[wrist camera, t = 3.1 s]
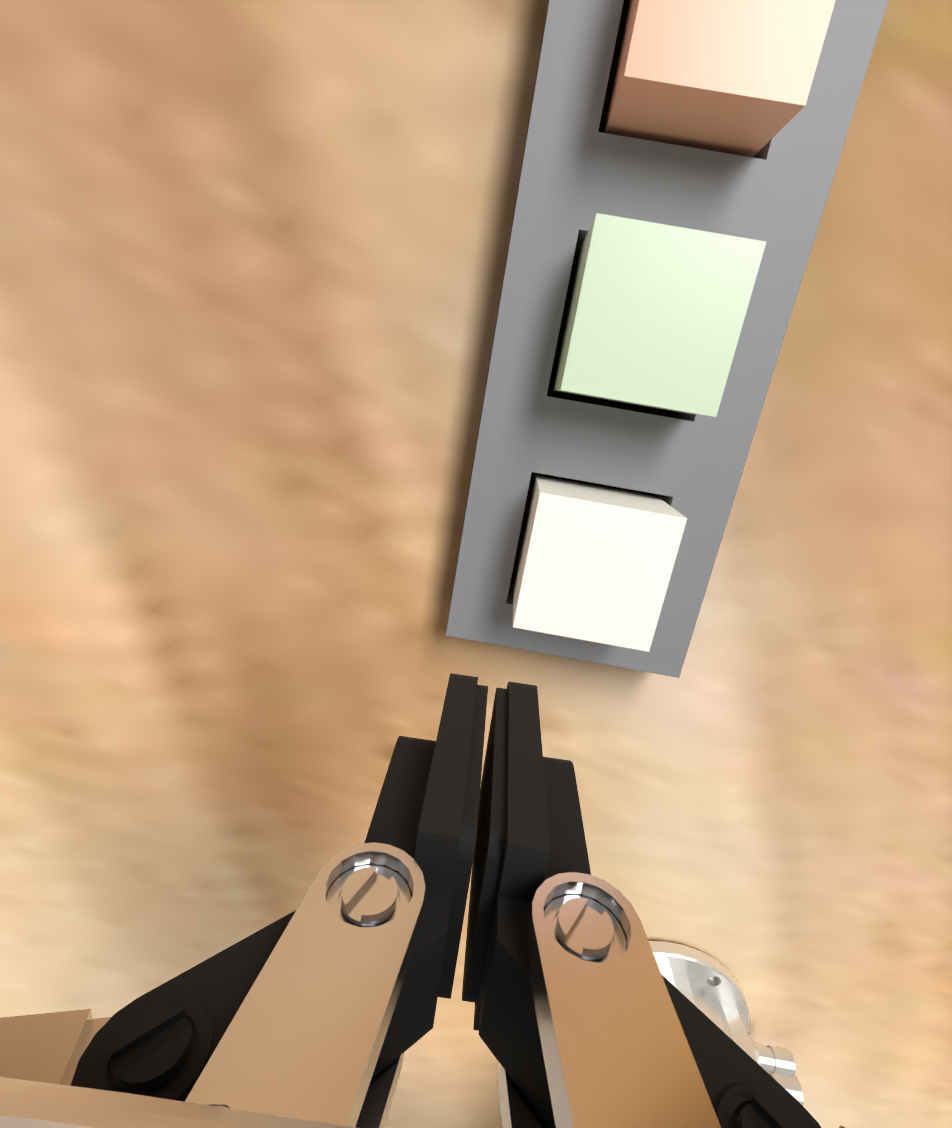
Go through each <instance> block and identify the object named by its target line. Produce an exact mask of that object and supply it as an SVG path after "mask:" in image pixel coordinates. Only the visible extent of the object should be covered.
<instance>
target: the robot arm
mask: <svg viewBox="0 0 952 1128" xmlns="http://www.w3.org/2000/svg"><path fill="white" fill-rule="evenodd" d="M477 681H478V677H472V676H465V675H458V674H450V677H449V682H448V687H447V692H446V697H445V701H444V706H443V711H442V716H441V721H440V726H439V730H438V735H437V740H436V741H431V740H424V739H417V738H410V737H403V736H399V737H398V740H397V742H396V745H395V748H394V752H393V755H392V758H391V761H390V764H389V767H388V771H387V774H386V777H385V780H384V783H383V786H382V790H381V793H380V796H379V799H378V802H377V805H376V809H375V812H374V815H373V818H372V821H371V824H370V828H369V831H368V834H367V837H366V840H365V843H363V844H357V845H354V846H351V847H349V848H346V849H343V850H341V851H340V852H338V853H337V854H336V855H334V856H333V857H331V858H330V859H329V860H328V861H327V862H326V863H325V865H324V866H323V867H322V868H321V870H320V871H319V872H318V874H317V876H316V877H315V879H314V881H313V883H312V884H311V886H310V888H309V889H308V891H307V893H306V895H305V896H304V898H303V900H302V901H301V903H300V905H299V907H298V908H297V910H295V911H294V912H292V913H290V914H288V915H286V916H285V917H283V918H281V919H279V920H277V921H276V922H274V923H272V924H270V925H268V926H267V927H265V928H263V929H261V930H259V931H258V932H256V933H254V934H252V935H250V936H249V937H247V938H245V939H243V940H241V941H240V942H238V943H236V944H234V945H232V946H231V947H229V948H227V949H225V950H223V951H222V952H220V953H218V954H216V955H214V956H213V957H211V958H209V959H207V960H205V961H204V962H202V963H200V964H198V965H196V966H195V967H193V968H191V969H189V970H187V971H186V972H184V973H182V974H180V975H178V976H177V977H175V978H173V979H171V980H169V981H168V982H166V983H164V984H162V985H160V986H159V987H157V988H155V989H153V990H151V991H150V992H148V993H146V994H144V995H142V996H141V997H139V998H137V999H136V1000H134V1001H133V1002H131V1003H130V1004H128V1005H127V1006H126V1007H124V1008H123V1009H121V1010H120V1011H118V1012H117V1013H116V1014H114V1015H113V1016H112V1017H109V1018H99V1019H92V1015H91V1009H87V1010H77V1011H67V1012H56V1013H46V1014H36V1015H26V1016H15V1017H5V1018H0V1128H384V1126H385V1123H386V1119H387V1116H388V1113H389V1109H390V1106H391V1102H392V1099H393V1096H394V1092H395V1089H396V1085H397V1082H398V1079H399V1075H400V1072H401V1068H402V1063H403V1056H404V1052H405V1051H406V1050H407V1049H408V1048H409V1047H411V1046H412V1045H413V1044H414V1043H415V1042H417V1041H418V1040H419V1039H420V1038H421V1037H422V1036H424V1035H425V1034H426V1033H427V1032H428V1031H430V1030H431V1029H432V1028H433V1023H434V1017H435V1010H436V1003H437V997H443V998H449V999H450V998H451V993H452V987H453V981H454V974H455V968H456V962H457V956H458V950H459V943H460V937H461V931H462V925H463V919H464V913H465V906H466V900H467V894H468V888H469V882H470V875H471V869H472V877H471V890H470V902H469V915H468V927H467V940H466V952H465V965H464V977H463V990H462V1001H469V1002H475V1014H474V1030H479V1036H480V1037H481V1038H482V1040H483V1041H484V1042H485V1044H486V1045H487V1046H488V1048H489V1049H490V1051H491V1052H492V1053H493V1055H494V1056H495V1057H496V1059H497V1060H498V1081H497V1082H498V1092H499V1102H500V1111H501V1121H502V1128H821V1127H820V1125H819V1123H818V1122H817V1121H816V1120H815V1119H814V1118H813V1117H812V1116H811V1115H810V1113H809V1112H808V1111H807V1110H806V1109H805V1108H804V1107H803V1103H804V1101H803V1092H802V1089H801V1085H800V1082H799V1081H798V1079H797V1077H796V1076H795V1061H794V1058H793V1055H792V1053H791V1052H790V1051H789V1050H788V1049H784V1048H779V1047H773V1046H761V1045H756V1043H755V1041H754V1040H753V1039H752V1038H749V1036H748V1034H747V1033H748V1029H749V1010H748V1007H747V1004H746V1001H745V998H744V996H743V993H742V991H741V988H740V986H739V984H738V982H737V980H736V979H735V978H734V976H733V975H732V974H731V973H730V971H729V970H728V969H727V968H726V967H724V966H723V965H722V964H721V963H720V962H718V961H717V960H716V959H714V958H712V957H711V956H709V955H707V954H705V953H703V952H702V951H699V950H696V949H694V948H691V947H688V946H685V945H682V944H676V943H671V942H666V941H648V939H647V936H646V934H645V931H644V929H643V926H642V924H641V921H640V919H639V917H638V915H637V913H636V912H635V910H634V908H633V906H632V904H631V903H630V902H629V901H628V900H627V899H626V898H625V897H624V896H623V895H622V893H621V892H620V891H618V890H617V889H616V888H614V887H613V886H611V885H610V884H608V883H607V882H606V881H604V880H601V879H599V878H597V877H594V876H592V875H591V872H590V866H589V860H588V853H587V847H586V841H585V835H584V828H583V822H582V816H581V809H580V803H579V797H578V791H577V784H576V778H575V772H574V767H573V763H572V762H571V761H568V760H561V759H554V758H548V757H543V755H542V743H541V731H540V718H539V706H538V694H537V686H535V685H528V684H521V683H514V682H508V685H507V689H503V688H496V693H495V699H494V706H493V712H492V718H491V725H490V731H489V737H488V743H487V750H486V756H485V762H484V769H483V775H482V781H481V771H482V758H483V745H484V732H485V718H486V705H487V692H488V686H482V685H477ZM480 784H481V788H480ZM472 863H473V865H472ZM839 1128H845V1127H843V1126H840V1127H839Z"/></svg>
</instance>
